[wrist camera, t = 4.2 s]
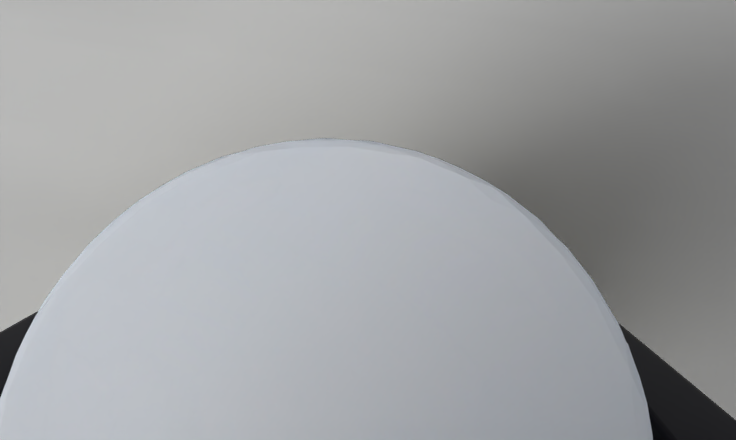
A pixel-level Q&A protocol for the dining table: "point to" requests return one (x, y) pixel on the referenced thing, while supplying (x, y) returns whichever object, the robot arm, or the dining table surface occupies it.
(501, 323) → the pill bottle
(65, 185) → the dining table surface
